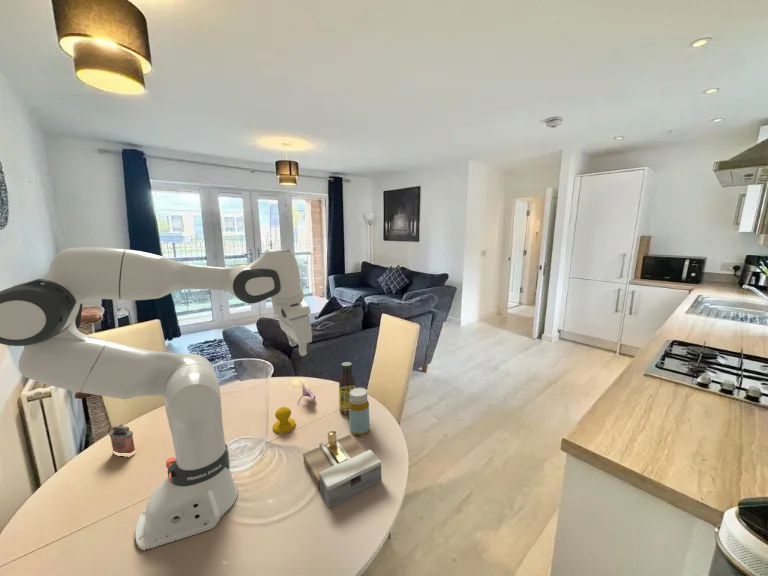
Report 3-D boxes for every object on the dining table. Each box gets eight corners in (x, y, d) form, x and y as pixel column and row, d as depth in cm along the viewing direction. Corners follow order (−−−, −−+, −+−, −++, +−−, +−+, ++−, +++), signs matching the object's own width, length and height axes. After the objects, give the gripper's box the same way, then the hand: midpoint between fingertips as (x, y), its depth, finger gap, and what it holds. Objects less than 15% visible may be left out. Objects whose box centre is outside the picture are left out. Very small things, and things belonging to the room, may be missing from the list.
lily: (311, 414, 125) (320, 391, 126) (284, 403, 125) (293, 380, 126) (316, 407, 137) (325, 386, 138) (291, 397, 137) (300, 376, 138)
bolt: (327, 449, 98) (326, 432, 96) (334, 446, 99) (333, 429, 98) (339, 467, 90) (338, 448, 89) (347, 463, 91) (346, 445, 90)
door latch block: (303, 462, 97) (302, 444, 96) (350, 442, 106) (349, 425, 104) (329, 508, 80) (327, 487, 79) (381, 481, 89) (380, 461, 88)
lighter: (109, 455, 103) (104, 427, 101) (120, 448, 106) (115, 421, 104) (128, 458, 101) (123, 430, 99) (139, 451, 104) (134, 424, 102)
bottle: (367, 437, 108) (365, 397, 105) (347, 435, 109) (345, 396, 107) (371, 425, 115) (370, 387, 112) (353, 423, 116) (351, 386, 113)
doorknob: (278, 436, 110) (269, 426, 116) (299, 427, 115) (289, 418, 121) (276, 417, 108) (267, 408, 114) (297, 408, 114) (288, 400, 120)
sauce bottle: (340, 416, 121) (338, 368, 117) (338, 408, 127) (336, 361, 123) (357, 413, 123) (355, 366, 119) (354, 405, 129) (352, 359, 125)
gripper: (269, 301, 96) (278, 343, 99) (288, 315, 79) (298, 365, 82) (289, 296, 99) (297, 337, 102) (312, 308, 82) (320, 356, 85)
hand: (298, 349), depth 92 cm, fingers open, 8 cm apart
